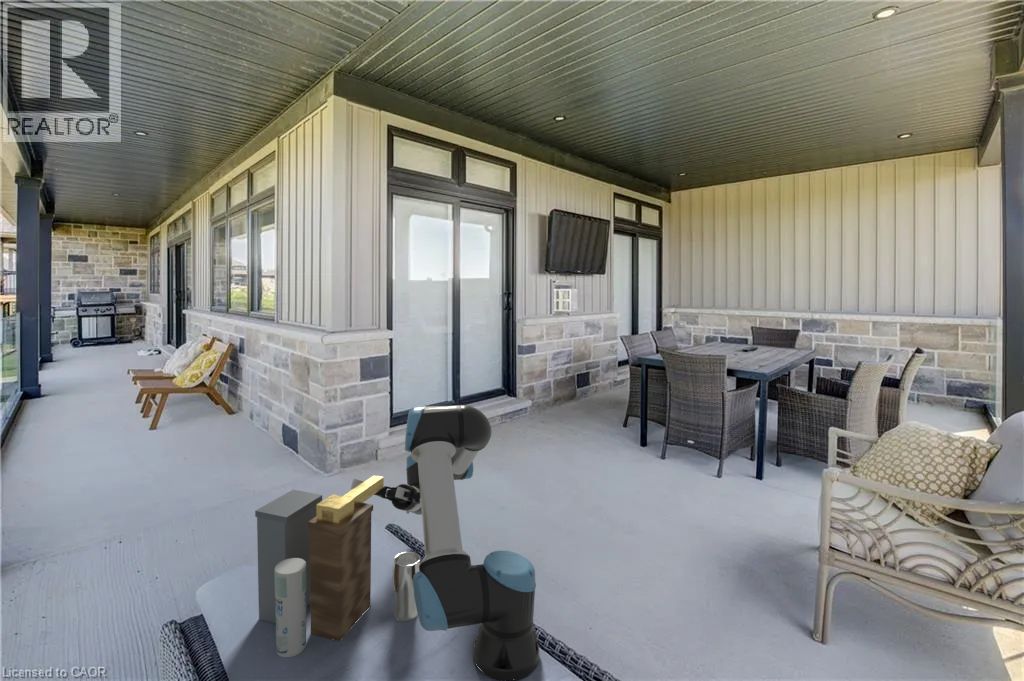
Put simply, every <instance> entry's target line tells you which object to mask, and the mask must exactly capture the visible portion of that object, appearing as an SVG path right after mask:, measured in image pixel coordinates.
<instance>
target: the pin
mask: <svg viewBox="0 0 1024 681" xmlns="http://www.w3.org/2000/svg"><path fill="white" fill-rule="evenodd" d="M384 478H385V477H384V476H381V475H372V476H371V477H370V478H369V477H368V479H366V480H365V481H363V483H362V484H360V485H359V486H357V487H356V488H354V489H350V491H348V492H347V493H345V494H343V495H338V494H334V493H333V494H331V495H329V496H328V497H326V498H325V499H322V501H321V502H320V503H318V504H317V505H316V510H317V521H319V522H324V523H329V524H333V525H338V526H339V525H340V524H342V523H343V522H344V521H346V520H347V519H348V518H350V517H351V516H352V515H354V509H355V508H356V507H358V506H359V505H360V504H362V503H365V502H366V501H368V500H369V499H370V498H372V496H375V495H374V494H375V493H377V492H378V491H379V490H381V489H382V488H384V485H385V483H384V480H385V479H384Z"/></svg>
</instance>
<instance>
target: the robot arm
mask: <svg viewBox="0 0 1024 681" xmlns="http://www.w3.org/2000/svg"><path fill="white" fill-rule="evenodd" d="M491 437H492V426H491V423H490V421H489V419H488V417H487V416H486V415H485V414H484V412H482V411H481V410H479V409H478V408H476V407H473V406H471V405H467V404H458V405H456V404H455V405H435V406H432V405H431V406H427V405H423V406H414V407H411V408H410V409H409V411H408V414H407V421H406V429H405V439H404V440H405V441H404V451H406V452H408V453H410V454H408V456H407V457H406V468H405V469H406V483H401V484H399V485H397V486H395V487H394V486H392V487H391V486H387V485H385V486H384V488H382V489H381V490H379V491H378V492H377V493H375V494H374V495H373V496H377V497H379V498H381V499H386V500H388V501H390V502H391V504H392V506H393V507H394V508H395V509H397V510H401V511H404V512H405V513H406V514H408V515H409V514H410V513H413V514H415V515H418V516H420V515H421V522H422V533H423V534H422V536H423V544H424V546H423V548H424V557H423V559H421V560H420V562H421V563H420V564H419V572H417V573H415V574H414V576H413V587H414V598H415V604H416V609H417V613H418V615H417V617H418V620H419V622H420V626H421V627H422V628H423V629H424V630H425V631H428V632H436V631H443V632H444V631H445V632H446V631H447V630H448V629H453V628H461V627H466V626H474V625H480V627H479V629H478V633H477V635H476V637H475V639H474V641H473V647H472V648H473V649H472V650H473V651H472V659H473V662H474V664H475V663H476V664H477V666H478V667H479V668H480V669H481V670H482V671H483V672H484V673H485V674H484V675H485V676H486V675H487V677H489V678H491V679H494V680H496V681H497V680H498V681H501V680H502V681H503V680H513V679H518V680H521V679H524V678H525V677H528V676H529V675H530V674H532V673H533V672H534V671H535V669H536V668H537V666H538V664H539V660H540V646H539V644H540V643H539V640H538V638H537V634H536V630H535V628H534V614H535V613H534V612H535V598H536V597H535V596H536V594H535V592H536V588H537V585H536V584H537V582H536V571H535V566H534V565H533V563H532V562H531V560H529V559H528V558H527V557H526V556H524V555H521V554H519V553H516V552H514V551H510V550H495V551H491V552H490V553H488V554H487V555H485V558H484V559H483V563H481V564H475V565H472V562H471V555H470V554H468V553H467V552H466V551H464V550H463V544H462V542H463V541H462V535H461V526H460V518H459V511H458V504H457V503H458V502H457V495H456V487H455V481H458V480H459V481H463V480H467V479H468V480H469V479H471V478H472V477H473V475H474V460H475V459H476V456H477V455H478V453H479V451H482V450H484V449H485V447H486V446H487V445H488V444H489V442H490V440H491ZM363 482H364V481H363V480H359V479H357V478H353V479H352V483H351V487H350V490H353V489H354V488H356V487H357V486H359V485H360V484H362V483H363ZM477 666H476V667H477Z"/></svg>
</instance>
